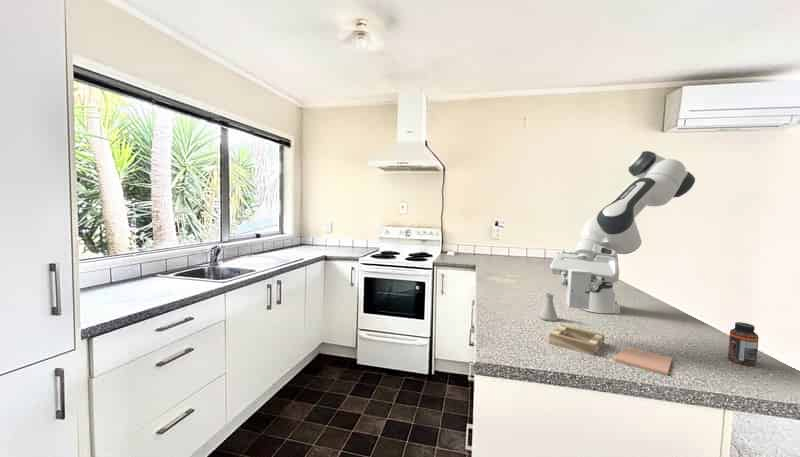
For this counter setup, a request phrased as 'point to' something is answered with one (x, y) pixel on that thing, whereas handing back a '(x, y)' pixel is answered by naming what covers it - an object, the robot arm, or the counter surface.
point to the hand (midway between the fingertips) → (577, 286)
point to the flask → (548, 309)
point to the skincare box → (578, 288)
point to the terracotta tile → (644, 360)
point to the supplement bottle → (743, 344)
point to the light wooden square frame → (577, 339)
